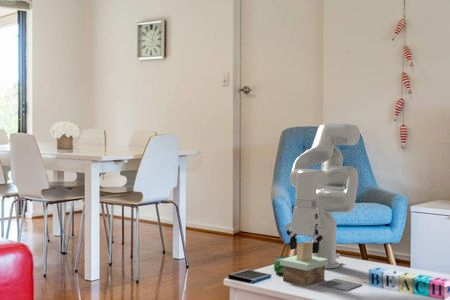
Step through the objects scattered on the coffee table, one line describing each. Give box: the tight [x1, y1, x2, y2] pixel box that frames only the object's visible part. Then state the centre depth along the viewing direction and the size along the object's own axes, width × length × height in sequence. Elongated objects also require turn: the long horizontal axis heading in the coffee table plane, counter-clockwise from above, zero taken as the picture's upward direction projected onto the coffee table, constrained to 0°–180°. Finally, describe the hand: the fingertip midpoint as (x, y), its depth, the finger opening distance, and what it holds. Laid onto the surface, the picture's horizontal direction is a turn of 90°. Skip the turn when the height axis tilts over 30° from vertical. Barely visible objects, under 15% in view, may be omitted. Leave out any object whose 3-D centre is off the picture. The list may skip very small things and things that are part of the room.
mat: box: [318, 278, 363, 292], centre depth 204 cm, size 11×11×1 cm
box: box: [282, 266, 326, 287], centre depth 210 cm, size 12×10×7 cm
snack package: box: [273, 255, 290, 274], centre depth 223 cm, size 7×16×5 cm, turn 170°
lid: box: [280, 240, 328, 271], centre depth 210 cm, size 14×12×8 cm
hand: (304, 251), depth 209 cm, fingers open, 9 cm apart
